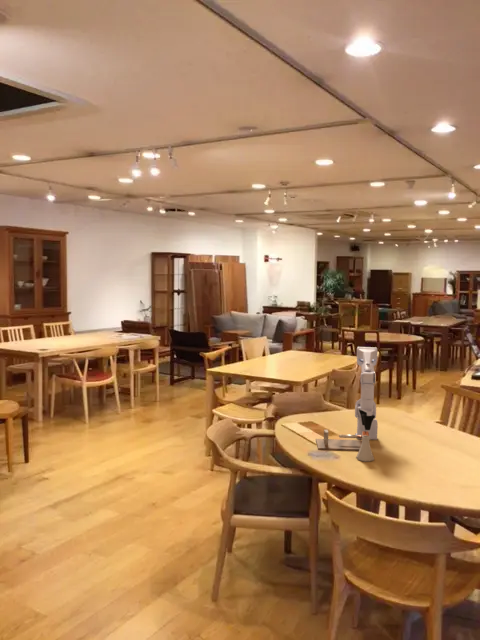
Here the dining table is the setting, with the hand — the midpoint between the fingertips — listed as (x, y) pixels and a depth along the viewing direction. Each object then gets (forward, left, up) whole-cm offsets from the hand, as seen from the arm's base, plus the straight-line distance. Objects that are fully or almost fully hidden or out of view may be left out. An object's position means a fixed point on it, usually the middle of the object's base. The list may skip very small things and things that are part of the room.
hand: (366, 427), depth 264 cm
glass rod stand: (+6, 0, -7) cm, 9 cm away
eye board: (+11, 0, -9) cm, 14 cm away
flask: (+3, +18, -9) cm, 20 cm away
